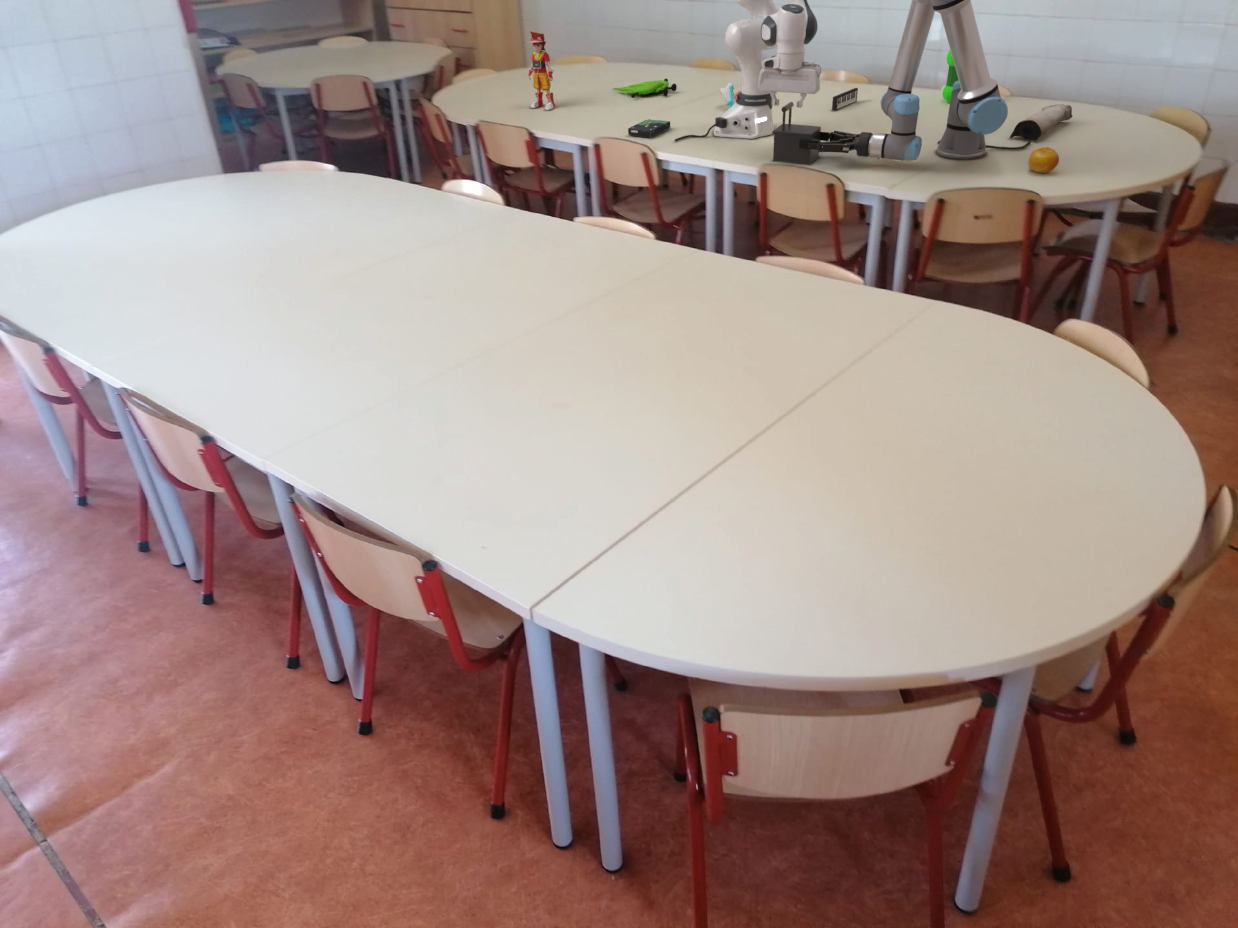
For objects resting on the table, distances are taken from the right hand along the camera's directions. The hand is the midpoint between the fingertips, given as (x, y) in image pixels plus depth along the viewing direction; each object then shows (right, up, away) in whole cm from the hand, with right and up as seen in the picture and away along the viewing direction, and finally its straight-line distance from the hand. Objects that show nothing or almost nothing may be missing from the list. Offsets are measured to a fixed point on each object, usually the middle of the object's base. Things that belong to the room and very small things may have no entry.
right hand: (804, 139), depth 299 cm
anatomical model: (-15, +37, +67) cm, 78 cm away
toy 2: (-53, +56, +98) cm, 124 cm away
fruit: (+70, -17, -20) cm, 75 cm away
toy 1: (-95, +44, +84) cm, 134 cm away
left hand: (-6, +10, -3) cm, 12 cm away
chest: (-2, -5, +5) cm, 7 cm away
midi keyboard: (+28, +35, +59) cm, 74 cm away
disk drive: (-51, +18, +42) cm, 68 cm away
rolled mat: (+87, +9, +17) cm, 89 cm away
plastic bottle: (+71, +35, +55) cm, 96 cm away
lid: (-3, +3, 0) cm, 4 cm away
